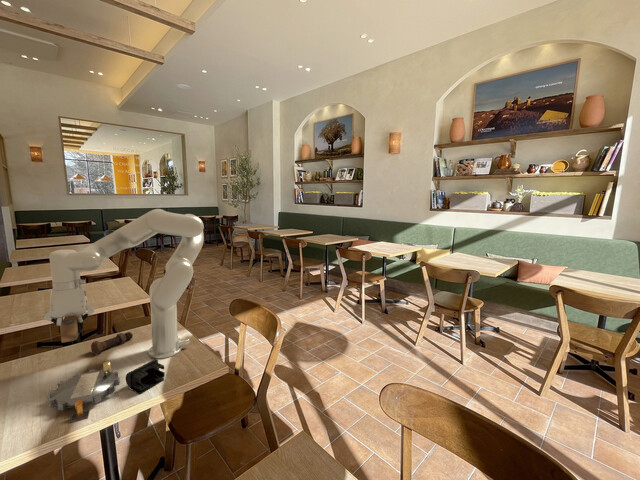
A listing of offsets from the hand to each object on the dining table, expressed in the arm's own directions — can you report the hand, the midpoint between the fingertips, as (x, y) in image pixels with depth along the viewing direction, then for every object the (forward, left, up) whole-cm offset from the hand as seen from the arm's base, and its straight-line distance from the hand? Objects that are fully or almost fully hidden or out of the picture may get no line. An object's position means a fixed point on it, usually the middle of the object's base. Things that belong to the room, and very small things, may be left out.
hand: (71, 332), depth 108 cm
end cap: (-23, +20, -15) cm, 34 cm away
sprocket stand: (-6, +23, -15) cm, 28 cm away
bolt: (-11, -14, -15) cm, 24 cm away
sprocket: (-6, +18, -13) cm, 23 cm away
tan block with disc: (0, 0, -1) cm, 1 cm away
